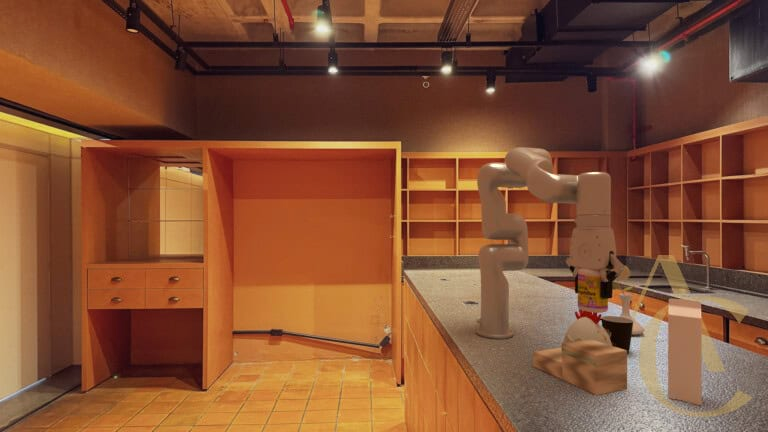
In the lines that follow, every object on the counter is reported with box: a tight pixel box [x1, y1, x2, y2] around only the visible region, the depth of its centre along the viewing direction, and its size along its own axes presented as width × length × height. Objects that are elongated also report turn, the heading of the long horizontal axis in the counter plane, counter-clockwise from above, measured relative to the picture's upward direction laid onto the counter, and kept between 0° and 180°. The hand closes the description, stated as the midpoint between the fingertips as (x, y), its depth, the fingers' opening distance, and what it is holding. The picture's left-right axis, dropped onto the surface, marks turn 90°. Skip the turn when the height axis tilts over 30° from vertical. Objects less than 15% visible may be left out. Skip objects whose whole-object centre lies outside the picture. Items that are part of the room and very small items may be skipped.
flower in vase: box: [612, 265, 645, 336], centre depth 147 cm, size 13×11×25 cm
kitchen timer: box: [562, 308, 612, 346], centre depth 119 cm, size 14×14×15 cm
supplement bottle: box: [577, 268, 609, 314], centre depth 100 cm, size 7×7×13 cm
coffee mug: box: [598, 315, 633, 356], centre depth 126 cm, size 12×9×10 cm
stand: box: [532, 339, 628, 396], centre depth 104 cm, size 20×10×9 cm, turn 22°
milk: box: [667, 298, 703, 406], centre depth 92 cm, size 6×6×22 cm
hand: (593, 294), depth 100 cm, fingers closed on supplement bottle, 6 cm apart
